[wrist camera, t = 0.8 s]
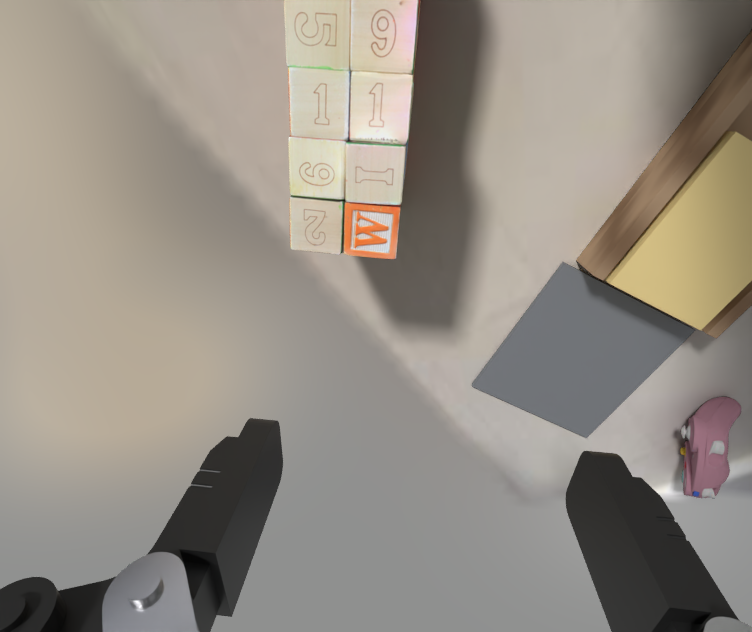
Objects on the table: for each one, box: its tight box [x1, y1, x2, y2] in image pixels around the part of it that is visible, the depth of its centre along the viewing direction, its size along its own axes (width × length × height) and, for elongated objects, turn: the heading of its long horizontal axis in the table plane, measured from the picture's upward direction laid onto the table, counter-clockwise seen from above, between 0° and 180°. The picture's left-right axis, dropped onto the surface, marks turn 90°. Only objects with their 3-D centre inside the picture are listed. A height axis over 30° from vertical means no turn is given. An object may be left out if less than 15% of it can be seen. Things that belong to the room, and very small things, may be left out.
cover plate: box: [605, 131, 752, 330], centre depth 30 cm, size 12×9×2 cm
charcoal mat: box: [472, 262, 695, 438], centre depth 38 cm, size 15×14×1 cm
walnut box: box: [576, 30, 752, 338], centre depth 29 cm, size 21×12×4 cm, turn 155°
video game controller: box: [680, 397, 741, 499], centre depth 39 cm, size 10×5×7 cm, turn 13°
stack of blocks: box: [284, 0, 421, 259], centre depth 23 cm, size 21×6×12 cm, turn 176°
